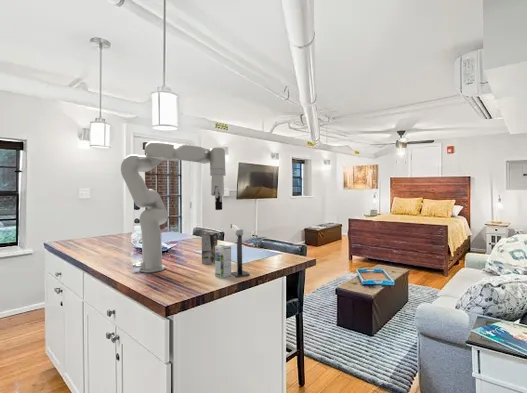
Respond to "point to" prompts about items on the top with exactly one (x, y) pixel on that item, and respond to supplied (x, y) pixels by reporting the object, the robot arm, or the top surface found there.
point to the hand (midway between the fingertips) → (218, 209)
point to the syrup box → (222, 261)
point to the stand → (239, 260)
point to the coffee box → (208, 248)
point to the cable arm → (237, 229)
